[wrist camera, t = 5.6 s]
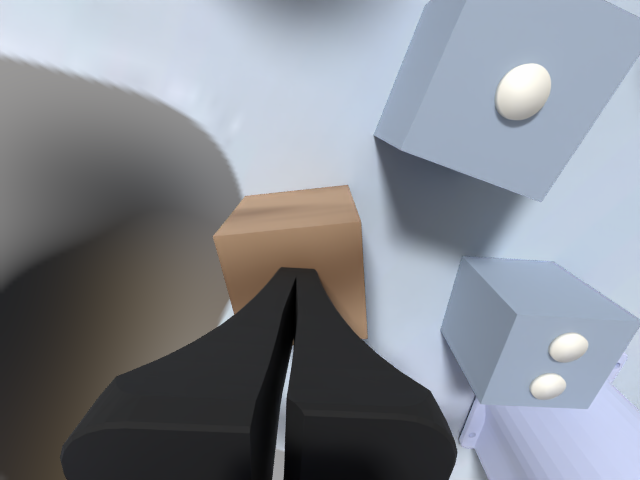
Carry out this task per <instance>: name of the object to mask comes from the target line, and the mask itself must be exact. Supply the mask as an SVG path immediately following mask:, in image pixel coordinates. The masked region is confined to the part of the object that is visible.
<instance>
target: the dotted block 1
mask: <svg viewBox="0 0 640 480" xmlns="http://www.w3.org/2000/svg"><path fill="white" fill-rule="evenodd" d="M639 55H640V17H638V16H636V15H634V14H632V13H630V12H628V11H626V10H624V9H621V8H619V7H617V6H615V5H613V4H611V3H609V2H607V1H605V0H431V1H429V2H428V3H427V4H426V5H425V7H424V9H423V12H422V14H421V17H420V19H419V22H418V24H417V27H416V29H415V32H414V35H413V37H412V40H411V42H410V45H409V47H408V50H407V52H406V55H405V57H404V60H403V62H402V65H401V67H400V70H399V72H398V75H397V77H396V80H395V82H394V85H393V88H392V90H391V93H390V95H389V98H388V100H387V103H386V105H385V108H384V110H383V113H382V115H381V118H380V120H379V123H378V125H377V128H376V130H375V133H374V136H376V137H378V138H380V139H381V140H383V141H385V142H387V143H389V144H390V145H392V146H394V147H396V148H398V149H399V150H401V151H404V152H407V153H409V154H412V155H415V156H417V157H420V158H423V159H426V160H428V161H431V162H434V163H436V164H439V165H442V166H444V167H447V168H450V169H453V170H455V171H458V172H461V173H463V174H466V175H469V176H471V177H474V178H477V179H480V180H482V181H485V182H488V183H490V184H493V185H496V186H498V187H501V188H504V189H507V190H509V191H512V192H515V193H517V194H520V195H523V196H525V197H528V198H531V199H534V200H536V201H539V202H542V201H543V199H544V198H545V196H546V195H547V193H548V192H549V190H550V189H551V187H552V186H553V184H554V183H555V181H556V180H557V178H558V177H559V175H560V174H561V172H562V171H563V169H564V168H565V166H566V165H567V163H568V162H569V160H570V159H571V157H572V156H573V154H574V153H575V151H576V150H577V148H578V147H579V145H580V144H581V142H582V141H583V139H584V138H585V136H586V135H587V133H588V132H589V130H590V129H591V127H592V126H593V124H594V123H595V121H596V120H597V118H598V117H599V115H600V114H601V112H602V111H603V109H604V108H605V106H606V105H607V103H608V102H609V100H610V99H611V97H612V96H613V94H614V93H615V91H616V90H617V88H618V87H619V85H620V84H621V82H622V81H623V79H624V78H625V76H626V75H627V73H628V72H629V70H630V69H631V67H632V66H633V64H634V63H635V61H636V60H637V58H638V57H639Z"/></svg>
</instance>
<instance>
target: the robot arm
mask: <svg viewBox="0 0 640 480" xmlns="http://www.w3.org/2000/svg"><path fill="white" fill-rule="evenodd" d="M293 339H294V352H293V359H292V367H291V373H290V380H289V387H288V393H287V403H286V432H285V463H284V480H449V478H450V475H451V473H452V470H453V468H454V466H455V462H456V457H457V448H456V444H455V440H454V438H453V436H452V433H451V431H450V428H449V426H448V423H447V421H446V419H445V417H444V415H443V413H442V411H441V409H440V408H439V406H438V404H437V402H436V400H435V399H434V397H433V395H432V393H431V391H430V390H428V389H427V388H425V387H424V386H422V385H421V384H419V383H417V382H416V381H414V380H413V379H411V378H410V377H408V376H407V375H405V374H403V373H402V372H400V371H399V370H398V369H396V368H395V367H394V366H392V365H391V364H390V363H388V362H387V361H386V360H384V359H383V358H382V357H381V356H379V355H378V354H377V353H376V352H375V351H374V350H372V349H371V348H370V347H369V346H368V345H367V344H366V343H365V342H364V341H363V340H362V339H361V338H360V337H359V336H358V335H357V334H356V333H355V332H354V331H353V330H352V329H351V327H350V326H349V325H348V324H347V323H346V321H345V320H344V319H343V318H342V316H341V315H340V313H339V312H338V311H337V309H336V308H335V306H334V305H333V303H332V302H331V300H330V298H329V297H328V295H327V293H326V291H325V289H324V288H323V285H322V283H321V281H320V279H319V276H318V273H317V271H316V270H315V269H308V268H290V267H281V268H279V269H278V270H277V272H276V273H275V274H274V276H273V277H272V278H271V279H270V280H269V282H268V283H267V284H266V285H265V286H264V287H263V288H262V289H261V290H260V292H259V293H258V294H257V295H256V296H255V297H254V298H253V299H252V300H250V301H249V302H248V303H247V304H246V305H245V306H244V307H243V308H242V309H241V310H239V311H238V312H237V313H236V314H235V315H233V316H232V317H231V318H230V319H228V320H227V321H226V322H224V323H223V324H221V325H220V326H218V327H217V328H215V329H214V330H212V331H210V332H209V333H207V334H206V335H204V336H202V337H201V338H199V339H197V340H196V341H194V342H192V343H190V344H188V345H186V346H185V347H183V348H181V349H179V350H177V351H175V352H173V353H171V354H169V355H167V356H165V357H162V358H160V359H158V360H156V361H153V362H151V363H149V364H146V365H144V366H141V367H139V368H136V369H134V370H132V371H129V372H127V373H124V374H121V375H119V376H117V377H116V378H115V379H114V380H113V381H112V382H111V383H110V384H109V386H108V387H107V388H106V389H105V390H104V392H103V393H102V394H101V395H100V396H99V398H98V399H97V400H96V401H95V403H94V404H93V406H92V407H91V408H90V409H89V411H88V412H87V414H86V415H85V416H84V418H83V419H82V420H81V422H80V423H79V424H78V426H77V427H76V428H75V430H74V431H73V432H72V434H71V435H70V436H69V438H68V439H67V441H66V442H65V443H64V445H63V447H62V451H61V455H60V459H61V463H62V467H63V471H64V475H65V477H66V479H67V480H272V475H273V466H274V457H275V448H276V439H277V430H278V421H279V412H280V404H281V398H282V392H283V387H284V383H285V378H286V373H287V368H288V363H289V359H290V354H291V349H292V344H293ZM627 358H628V356H627V354H625V353H623V354H622V356H621V357H620V359H619V360H618V362H617V364H616V365H615V367H614V368H613V370H612V372H611V373H610V375H609V376H608V378H607V380H606V381H605V383H604V384H603V386H602V387H601V389H600V391H599V392H598V394H597V395H596V397H595V399H594V400H593V402H592V403H591V405H590V407H589V408H588V409H574V408H551V407H529V406H507V405H485V404H480V403H479V401H478V399H477V397H476V398H475V401H474V403H473V406H472V408H471V411H470V413H469V416H468V418H467V421H466V423H465V426H464V428H463V431H462V433H461V436H460V438H459V442H460V444H461V446H462V447H464V448H473V449H475V451H476V453H477V455H478V457H479V460H480V462H481V464H482V466H483V469H484V471H485V473H486V475H487V477H488V480H640V410H639V409H638V408H637V407H635V406H634V405H633V404H632V403H631V402H630V401H629V400H628V399H627V398H626V397H625V396H624V395H623V394H622V393H621V392H620V391H619V390H618V389H617V388H616V387H615V386H614V385H612V382H613V381H614V379H615V378H616V376H617V375H618V373H619V371H620V370H621V368H622V367H623V365H624V364H625V362H626V361H627Z"/></svg>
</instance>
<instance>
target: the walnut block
mask: <svg viewBox="0 0 640 480" xmlns="http://www.w3.org/2000/svg"><path fill="white" fill-rule="evenodd" d="M213 239H214V242H215V246H216V250H217V253H218V257H219V261H220V264H221V268H222V271H223V275H224V279H225V282H226V286H227V289H228V293H229V297H230V300H231V304H232V308H233V311H234V315H235V314H236V313H237V312H238V311H239V310H241V309H242V308H243V307H244V306H245V305H246V304H247V303H248V302H249V301H250V300H252V299H253V298H254V297H255V296H256V295H257V294H258V293H259V292H260V290H261V289H262V288H263V287H264V286H265V285H266V284H267V283H268V282H269V280H270V279H271V278H272V277H273V276H274V274H275V273H276V272H277V270H278V269H279V268H281V267H290V268H308V269H315V270H316V271H317V273H318V276H319V279H320V281H321V283H322V285H323V288H324V289H325V291H326V293H327V295H328V297H329V298H330V300H331V302H332V303H333V305H334V306H335V308H336V309H337V311H338V312H339V313H340V315H341V316H342V318H343V319H344V320H345V321H346V323H347V324H348V325H349V326H350V327H351V329H352V330H353V331H354V332H355V333H356V334H357V335H358V336H359V337H360V338H361V339H368V337H367V320H366V302H365V284H364V266H363V248H362V231H361V220H360V217H359V215H358V212H357V209H356V206H355V203H354V201H353V198H352V195H351V192H350V189H349V187H348V185H343V186H334V187H325V188H315V189H306V190H297V191H287V192H278V193H269V194H259V195H250V196H245V197H244V198H243V200H242V201H241V202H240V203H239V205H238V206H237V207H236V208H235V210H234V211H233V212H232V213H231V215H230V216H229V217H228V218H227V220H226V221H225V222H224V223H223V225H222V226H221V227H220V228H219V230H218V231H217V232H216V233H215V235H214V236H213ZM292 345H294V339H293V344H292Z"/></svg>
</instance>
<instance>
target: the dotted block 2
mask: <svg viewBox="0 0 640 480" xmlns="http://www.w3.org/2000/svg"><path fill="white" fill-rule="evenodd" d="M639 327H640V319H639V318H637V317H636V316H634V315H633V314H631V313H630V312H628V311H627V310H625V309H624V308H622V307H621V306H619V305H618V304H616V303H615V302H613V301H612V300H610V299H609V298H607V297H606V296H604V295H603V294H601V293H600V292H598V291H597V290H595V289H594V288H592V287H591V286H589V285H588V284H586V283H585V282H583V281H582V280H580V279H579V278H577V277H576V276H574V275H573V274H571V273H570V272H568V271H567V270H566V269H564V268H563V267H561V266H560V265H558V264H557V263H555V262H554V261H537V260H520V259H504V258H487V257H470V256H462V258H461V262H460V265H459V268H458V272H457V275H456V279H455V282H454V285H453V289H452V292H451V296H450V299H449V303H448V306H447V309H446V313H445V316H444V320H443V323H442V326H441V332H442V334H443V336H444V338H445V339H446V341H447V343H448V345H449V347H450V349H451V351H452V352H453V354H454V356H455V358H456V360H457V362H458V364H459V365H460V367H461V369H462V371H463V373H464V375H465V377H466V379H467V380H468V382H469V384H470V386H471V388H472V390H473V392H474V393H475V395H476V397H477V399H478V401H479V403H480V404H485V405H507V406H529V407H551V408H574V409H588V408H589V407H590V405H591V403H592V402H593V400H594V399H595V397H596V395H597V394H598V392H599V391H600V389H601V387H602V386H603V384H604V383H605V381H606V380H607V378H608V376H609V375H610V373H611V372H612V370H613V368H614V367H615V365H616V364H617V362H618V360H619V359H620V357H621V356H622V354H623V353H624V351H625V349H626V348H627V346H628V345H629V343H630V341H631V340H632V338H633V337H634V335H635V333H636V332H637V330H638V329H639Z"/></svg>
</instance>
